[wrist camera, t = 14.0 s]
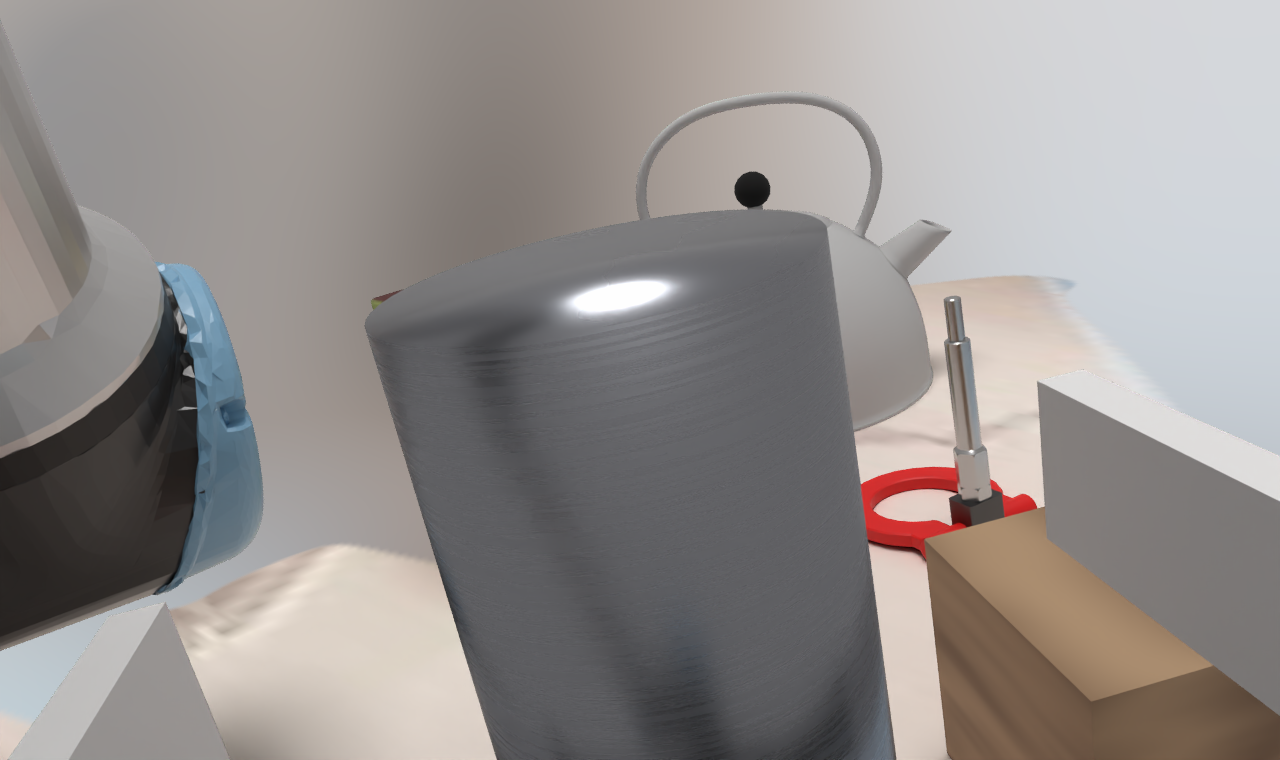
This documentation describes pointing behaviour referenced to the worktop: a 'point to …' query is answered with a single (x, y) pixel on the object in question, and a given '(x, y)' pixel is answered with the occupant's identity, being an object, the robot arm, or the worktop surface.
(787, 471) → the hinge pin
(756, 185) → the kettle
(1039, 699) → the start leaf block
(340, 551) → the worktop surface
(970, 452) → the tow hook
